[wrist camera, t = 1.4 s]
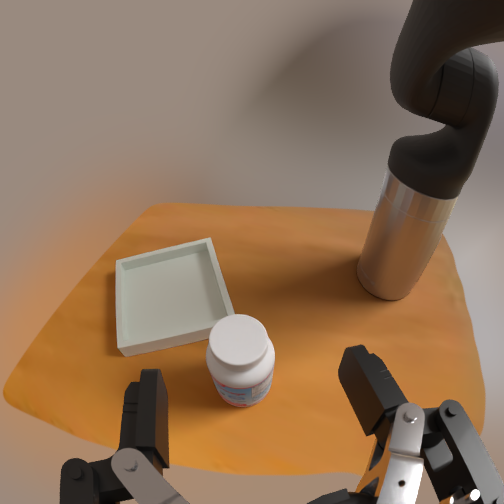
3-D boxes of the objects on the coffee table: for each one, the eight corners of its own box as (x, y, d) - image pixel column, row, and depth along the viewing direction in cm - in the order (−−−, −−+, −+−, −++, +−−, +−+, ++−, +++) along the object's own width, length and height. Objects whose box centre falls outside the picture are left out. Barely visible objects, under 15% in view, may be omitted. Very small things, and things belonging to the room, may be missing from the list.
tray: (212, 249, 45) (210, 237, 43) (238, 331, 35) (237, 320, 33) (121, 271, 42) (116, 260, 40) (125, 356, 32) (117, 348, 30)
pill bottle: (205, 383, 30) (183, 338, 22) (243, 349, 33) (237, 293, 25) (244, 419, 27) (237, 389, 19) (283, 381, 30) (292, 335, 22)
